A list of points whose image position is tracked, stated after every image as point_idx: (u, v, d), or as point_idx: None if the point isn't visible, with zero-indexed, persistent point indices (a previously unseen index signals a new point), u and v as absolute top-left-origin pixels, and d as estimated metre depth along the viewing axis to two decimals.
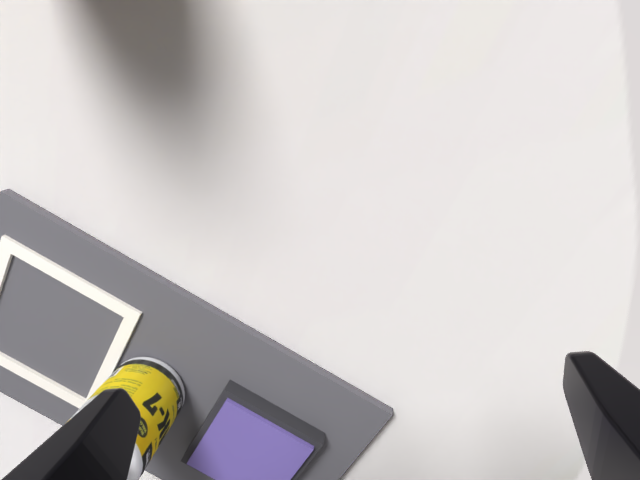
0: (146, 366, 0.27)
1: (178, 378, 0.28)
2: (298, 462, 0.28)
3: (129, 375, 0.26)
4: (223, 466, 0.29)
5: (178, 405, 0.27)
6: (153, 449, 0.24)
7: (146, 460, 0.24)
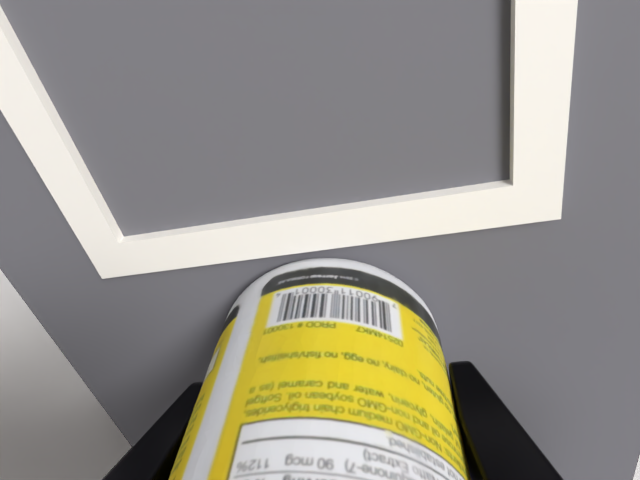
0: None
1: None
2: None
3: (442, 380, 0.08)
4: None
5: None
6: None
7: None
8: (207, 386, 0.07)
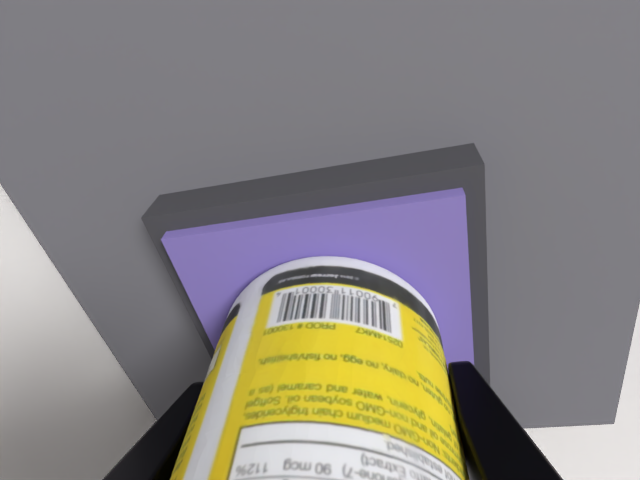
0: (443, 351, 0.09)
1: None
2: None
3: (442, 380, 0.08)
4: None
5: None
6: None
7: None
8: (208, 386, 0.08)
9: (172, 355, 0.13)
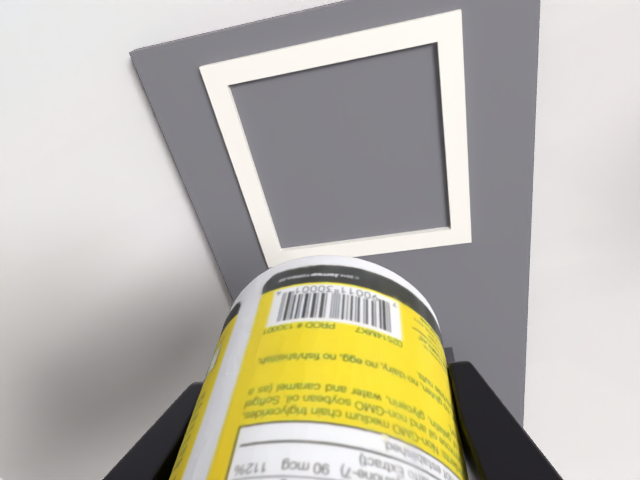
0: (443, 351, 0.09)
1: None
2: None
3: (442, 380, 0.08)
4: None
5: None
6: None
7: None
8: (208, 384, 0.08)
9: None
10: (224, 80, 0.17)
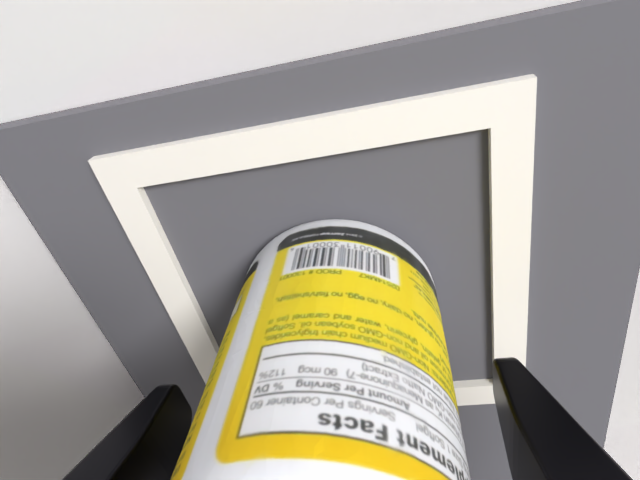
0: (437, 302, 0.10)
1: None
2: None
3: (434, 321, 0.09)
4: None
5: None
6: None
7: None
8: (232, 324, 0.09)
9: None
10: (132, 180, 0.10)
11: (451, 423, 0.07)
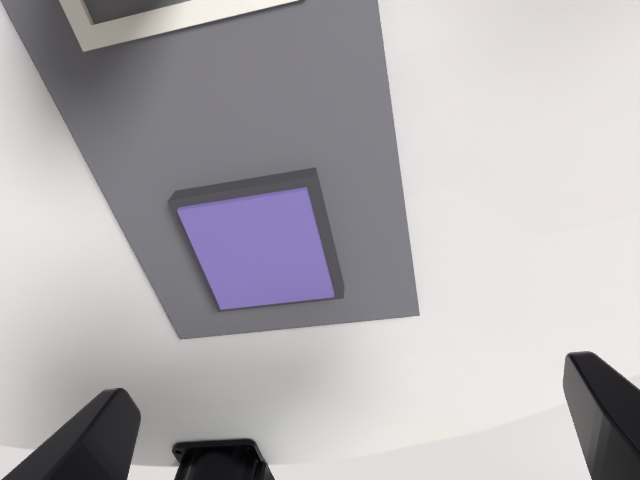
0: None
1: None
2: (305, 296, 0.23)
3: None
4: (219, 244, 0.21)
5: None
6: None
7: None
8: None
9: (180, 278, 0.24)
10: None
11: None
